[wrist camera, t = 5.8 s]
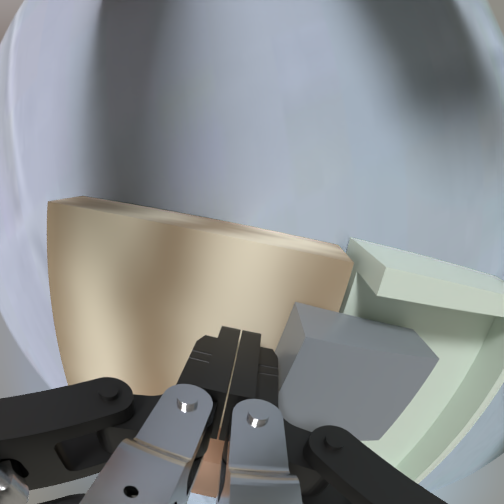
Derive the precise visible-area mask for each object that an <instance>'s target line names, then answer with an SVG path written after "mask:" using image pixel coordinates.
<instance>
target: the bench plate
mask: <svg viewBox="0 0 504 504" xmlns="http://www.w3.org/2000/svg"><path fill="white" fill-rule="evenodd" d="M47 258H48V274H49V286H50V296H51V304H52V312H53V318H54V325H55V330H56V336H57V341H58V346H59V351H60V355H61V360H62V364H63V368H64V372H65V376H66V379H67V383H68V386H69V385H73V384H77V383H81V382H85V381H89V380H93V379H97V378H102V377H113V378H117V379H120V380H122V381H124V382H125V383H127V384H128V385H129V386H130V388H131V389H132V392H133V394H136V395H148V396H156V395H162V394H163V393H164V392H165V391H166V390H167V389H168V388H169V387H171V386H174V385H176V384H177V382H178V379H179V377H180V375H181V373H182V371H183V369H184V367H185V364H186V362H187V360H188V358H189V356H190V354H191V352H192V350H193V347H194V345H195V343H196V341H197V340H199V339H200V338H202V337H203V336H205V335H208V336H212V337H216V338H218V335H219V332H220V330H221V327H222V326H226V327H231V328H236V329H240V330H241V331H240V336H239V341H238V346H237V351H236V355H235V360H234V365H233V370H232V374H231V379H230V383H229V387H228V392H227V396H226V401H225V405H224V410H223V414H222V418H221V423H220V427H219V428H221V426H222V422H223V417H224V412H225V408H226V403H227V399H228V394H229V389H230V385H231V380H232V376H233V371H234V366H235V362H236V357H237V353H238V348H239V343H240V339H241V334H242V330H245V331H250V332H255V333H260V334H261V343H260V347H265V348H270V349H273V350H274V352H275V349H276V347H277V345H278V342H279V340H280V338H281V335H282V333H283V330H284V328H285V325H286V323H287V320H288V318H289V315H290V313H291V310H292V308H293V305H294V303H295V302H299V303H302V304H306V305H310V306H314V307H318V308H322V309H326V310H331V311H335V312H339V310H340V307H341V304H342V301H343V298H344V295H345V291H346V288H347V285H348V282H349V279H350V275H351V272H352V268H353V265H354V262H353V261H352V260H351V259H350V258H349V256H348V255H347V254H346V253H345V252H344V251H343V250H342V249H341V248H340V247H339V246H338V245H336V244H331V243H327V242H322V241H318V240H313V239H309V238H304V237H299V236H295V235H290V234H285V233H281V232H276V231H271V230H266V229H261V228H256V227H251V226H247V225H242V224H237V223H231V222H226V221H221V220H216V219H211V218H206V217H201V216H195V215H190V214H185V213H179V212H174V211H168V210H163V209H157V208H151V207H146V206H140V205H134V204H128V203H123V202H117V201H111V200H105V199H98V198H92V197H86V196H79V197H73V198H66V199H60V200H54V201H48V207H47Z"/></svg>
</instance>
